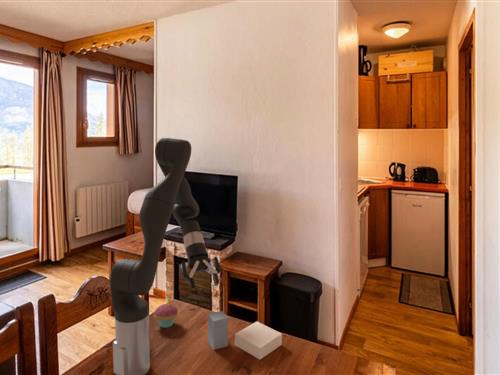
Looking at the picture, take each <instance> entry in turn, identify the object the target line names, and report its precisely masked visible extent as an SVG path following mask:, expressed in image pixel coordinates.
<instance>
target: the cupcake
mask: <svg viewBox="0 0 500 375" xmlns="http://www.w3.org/2000/svg"><path fill="white" fill-rule="evenodd" d="M170 302H171V291H169V293H168V295H167V304H166V303H164V304H160V306H159V305H158V307H156V308H155V310H154V312H153V318H154V319H155V320H157V322H158V324H159V326H160V327H161V328H165V329H166V328H170V327H172V325H173V324H174V322H175V320H176V318H177V317H178V314H179V309H178V308H177V306H176V305H174V304H171V303H170Z"/></svg>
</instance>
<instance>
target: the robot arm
mask: <svg viewBox="0 0 500 375" xmlns="http://www.w3.org/2000/svg"><path fill="white" fill-rule="evenodd" d="M191 154H192V145H191V143H190V141H188V140H185V139H181V138H172V137H161V138H159V139H158V140H157V142H156V144H155V146H154V156H155V159H156V163H157V164H158V167H159V168H160V170H161V172H162V173H163V176H164V177H163V178H162V180H160V181H159V182H158V183H157V184H156V185H154V186H153V187H152V188H151V189H150V190H149V191H148V192H147V193H146V195H145V196H144V199H143V202H142V204H141V207H140V210H139V214H138V220H139V225H140V229H141V232H142V234H143V240H144V241H143V242H144V245H143V246H144V248H143V252H142V256H141V259H140V260H136V259H129V258H121V259H118V260H117V261H115V263H114V264H113V266H112V267H111V271H110V277H109V286H110V288H109V289H110V298H111V299H110V300H111V309H112V310H113V312H114V313H113V314H114V325H115V326H114V327H115V329H114V330H115V332H114V333H115V340H113V342H112V358H113V359H112V360H113V373H114V374H115V375H146V374H147V373H149V371H150V369H151V366H150V365H151V364H150V363H151V359H150V356H151V355H150V354H151V352H150V306H149V303H148V302H147V300H145V299H144V298H142V297H141V296H145V295H147V294H148V293H149V292H150V291H151V289H152V287H153V285H154V282H155V278H156V275H157V268H158V265H159V260H160V256H161V250H162V246H163V242H164V239H165V235H166V232H167V230H168V229H167V228H168V226H169V223H170V219H171V217H172V215H173V217H174V218H175V220H176V222H177V223H178V225H179V227H180V229H181V234H182V237H183V238H182V239H183V245H184V250H185V252H186V257H187V262H185V261H184V260H183V261H182V262H181V264H180V265H179V266H180V271H181V278H182V280H184V281H185V280H187V281H188V284H189V288H190V289H191V290H192V291H194V290H196V288H197V287H196V284H195V279H194V277H193V276H194V275H195V273H196V274H199V273H205V272H206V273H208V274H210V275H211V276H212V279H213V280H212V281H213V284H214V287H218V285H219V284H220V279H219V276H218V275H219V274H220V273H221V272H222V267H221V264H220V262H219V260H218V259H219V258H218V257H217V256H214V257H213V258H210V257H209V254H208V250H207V246H206V243H205V240H204V236H203V234H202V231H201V227H200V224H199V222H198V221H197V220H195V219H193V218H196V217H198V215H199V214H200V207H199V204H198V202H197V200H195V198H194V197H193V194H192V190H191V186H190V183H189V181H188V180H187V178H186V177H185V173H186V171H187V169H188V166H189V162H190V159H191V156H192V155H191ZM188 268H190V270H191V271H190V273H189V274H188V272H187V269H188Z"/></svg>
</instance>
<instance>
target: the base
mask: <svg viewBox="0 0 500 375" xmlns="http://www.w3.org/2000/svg"><path fill="white" fill-rule="evenodd" d="M282 338H283V333H281V332H279V331H277V330H275V329H273V328H271V327H269V326H267V325H265V324H263V323H261V322H259V321H255V322H253V323H252V324H250V325H248V326H246V327H245V328H242V329H241V330H239V331H237V332H236V333H235V334H234V346H236V347H238V348H239V349H241V350H242V351H244V352H246V353H248V354H249V355H252V356H253V357H254V358H256V359H258V360H259V361H260V360H262V359H263V358H265V357H266V356H268V355H269V354H271V353H272V352H274V351H275V350H276V349H277V348H279V347H280V346H282V340H283V339H282Z"/></svg>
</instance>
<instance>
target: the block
mask: <svg viewBox="0 0 500 375" xmlns="http://www.w3.org/2000/svg"><path fill="white" fill-rule="evenodd" d="M207 316H208V317H207V343H208V344H209V346H210V347H211V349H212V350H214V351H215V350H219V349H222V348H225V347H228V346H229V316H228V315H227V314H226V313H225V312H224V311H223V310H220V311H215V312H211V313H207Z"/></svg>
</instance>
